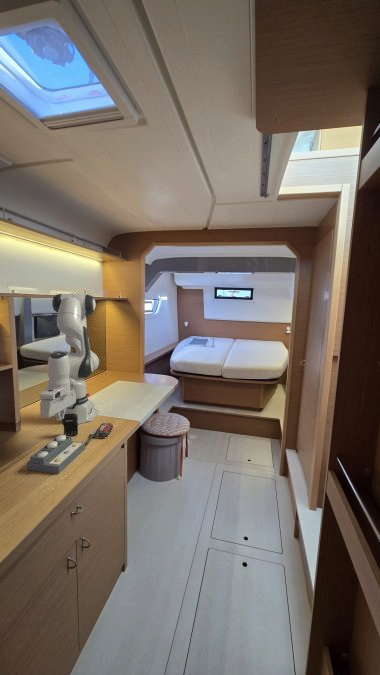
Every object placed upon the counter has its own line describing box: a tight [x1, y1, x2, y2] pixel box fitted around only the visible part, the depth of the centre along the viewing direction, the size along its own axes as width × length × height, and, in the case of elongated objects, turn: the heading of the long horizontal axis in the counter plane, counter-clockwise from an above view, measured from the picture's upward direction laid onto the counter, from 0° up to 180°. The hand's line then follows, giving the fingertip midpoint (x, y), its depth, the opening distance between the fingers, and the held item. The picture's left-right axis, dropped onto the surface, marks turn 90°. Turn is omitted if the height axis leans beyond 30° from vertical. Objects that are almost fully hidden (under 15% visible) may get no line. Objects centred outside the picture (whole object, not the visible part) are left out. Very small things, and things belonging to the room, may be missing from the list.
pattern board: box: [26, 436, 86, 475], centre depth 116 cm, size 19×14×6 cm
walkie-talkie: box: [85, 422, 114, 445], centre depth 137 cm, size 9×4×20 cm
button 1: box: [37, 451, 48, 457], centre depth 110 cm, size 4×4×2 cm
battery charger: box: [62, 413, 79, 437], centre depth 136 cm, size 7×4×11 cm, turn 99°
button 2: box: [55, 434, 66, 443], centre depth 122 cm, size 4×4×2 cm
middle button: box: [46, 440, 58, 450], centre depth 116 cm, size 4×4×2 cm
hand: (60, 419), depth 120 cm, fingers closed
